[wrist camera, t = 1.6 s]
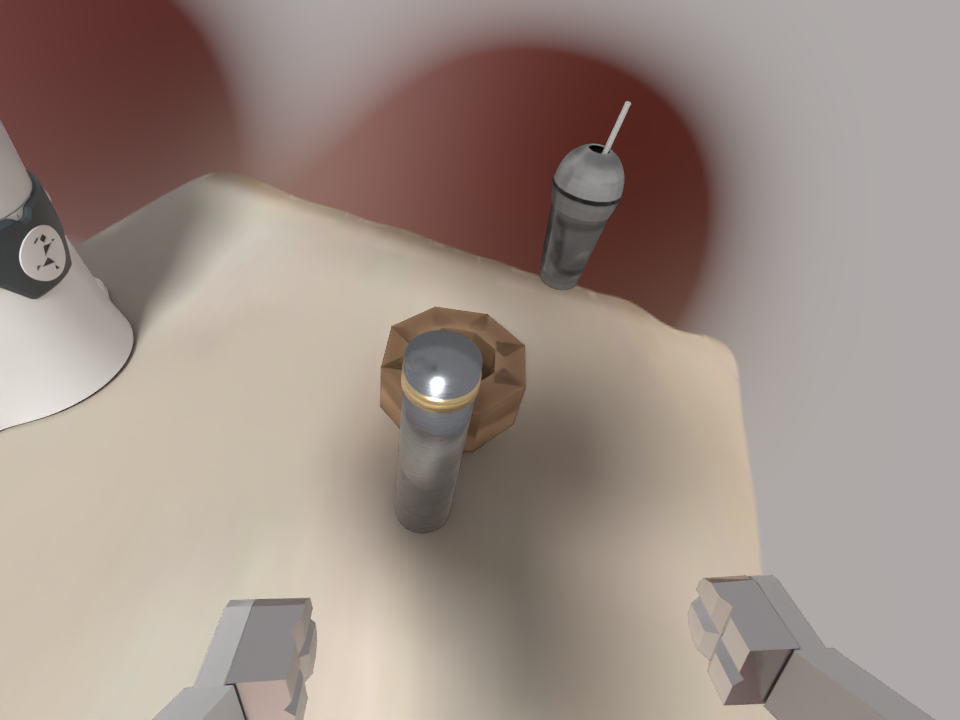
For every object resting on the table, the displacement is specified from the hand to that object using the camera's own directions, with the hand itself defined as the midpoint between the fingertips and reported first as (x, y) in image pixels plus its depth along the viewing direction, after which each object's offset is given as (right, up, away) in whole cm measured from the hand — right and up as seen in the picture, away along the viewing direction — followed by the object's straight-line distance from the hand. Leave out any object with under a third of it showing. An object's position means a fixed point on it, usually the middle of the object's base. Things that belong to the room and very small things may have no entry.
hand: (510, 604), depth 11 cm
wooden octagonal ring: (-3, +2, +35) cm, 35 cm away
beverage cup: (+9, +15, +49) cm, 52 cm away
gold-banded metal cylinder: (-5, -6, +27) cm, 28 cm away
